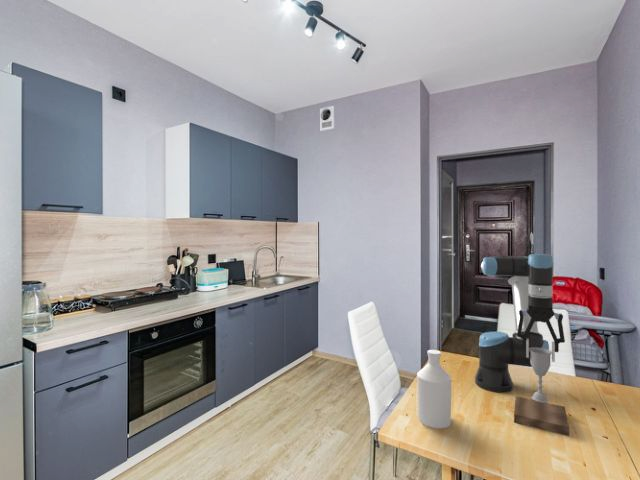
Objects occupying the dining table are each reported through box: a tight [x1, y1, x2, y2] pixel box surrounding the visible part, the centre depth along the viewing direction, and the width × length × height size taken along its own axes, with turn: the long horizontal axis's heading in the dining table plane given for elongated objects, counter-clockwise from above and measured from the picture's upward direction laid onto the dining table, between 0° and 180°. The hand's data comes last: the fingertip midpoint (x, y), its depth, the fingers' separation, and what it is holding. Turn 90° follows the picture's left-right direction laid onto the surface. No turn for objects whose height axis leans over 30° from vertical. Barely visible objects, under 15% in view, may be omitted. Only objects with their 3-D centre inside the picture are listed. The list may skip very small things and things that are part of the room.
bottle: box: [416, 349, 452, 430], centre depth 123 cm, size 12×12×25 cm
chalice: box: [529, 347, 552, 403], centre depth 123 cm, size 7×7×18 cm
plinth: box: [513, 395, 570, 437], centre depth 124 cm, size 16×16×3 cm
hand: (540, 358), depth 123 cm, fingers closed on chalice, 7 cm apart
